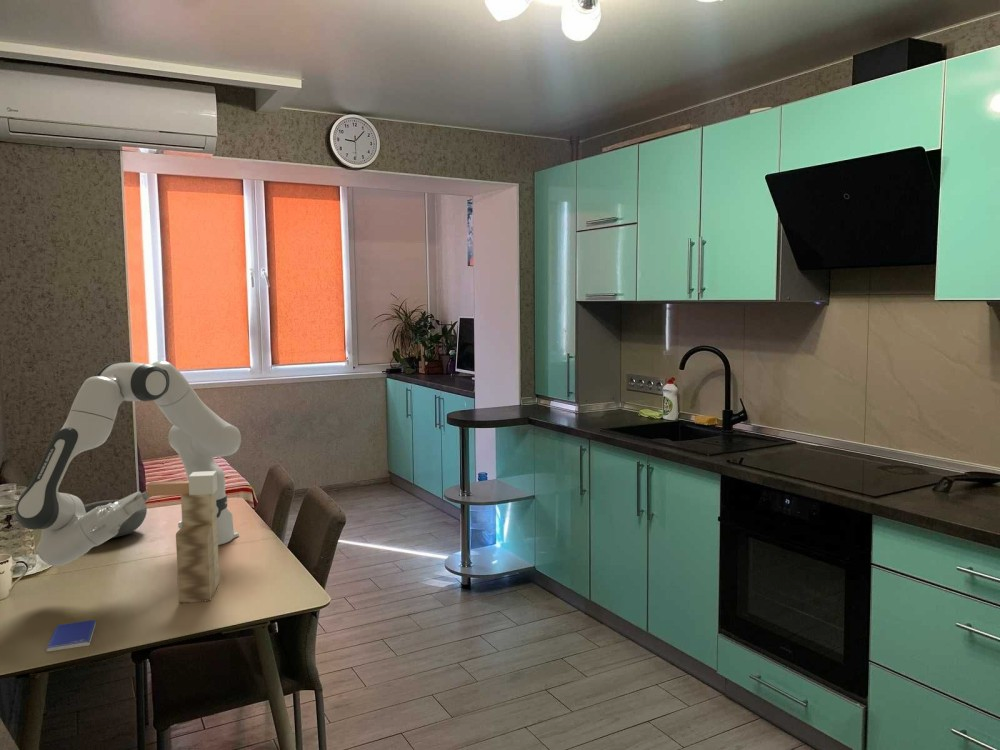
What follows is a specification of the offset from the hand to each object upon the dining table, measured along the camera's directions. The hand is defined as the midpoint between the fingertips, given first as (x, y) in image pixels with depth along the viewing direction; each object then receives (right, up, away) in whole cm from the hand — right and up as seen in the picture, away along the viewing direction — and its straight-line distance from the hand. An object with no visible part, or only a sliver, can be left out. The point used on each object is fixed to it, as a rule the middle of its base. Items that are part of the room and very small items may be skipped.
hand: (149, 495), depth 195 cm
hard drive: (-6, -29, -25) cm, 39 cm away
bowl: (-37, -22, +51) cm, 66 cm away
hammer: (+8, 0, +1) cm, 8 cm away
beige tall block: (+13, -26, +2) cm, 29 cm away
